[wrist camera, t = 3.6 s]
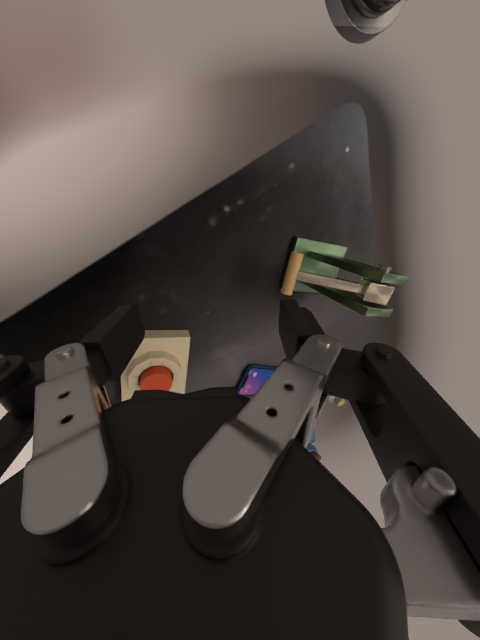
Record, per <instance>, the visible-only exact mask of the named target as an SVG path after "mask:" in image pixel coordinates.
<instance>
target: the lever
mask: <svg viewBox="0 0 480 640" xmlns="http://www.w3.org/2000/svg"><path fill="white" fill-rule="evenodd" d="M303 256H304V254H302V253H298V252H293V251H292V252H291V256H290V259H289V263H288V267H287V270H286V274H285V278H284V281H283V285H282V288H281V293H282V294H285V295H292V293H293V289H294V286H295V282H296V280H298V281H303V282H307V283H312V284H317V285H321V286H326V287H331V288H335V289H340V290H345V291H350V292H354V293H356V294H355V295H356V296H358V297H359V298H360V299H362V300H363V301H368V302H373V303H377V304H382V305H387V303H388V301H389V299H390V297H391V295H392V293H393V291H394V289H395V287H393V286H391V285H389V284H387V283H384V282H379V281H375V280H370V279H365V278H362V280H361V282H360V283H358V282H353V281H348V280H343V279H339V278H334V277H329V276H325V275H320V274H315V273H310V272H306V271H301V270H299V269H300V266H301V262H302V259H303Z"/></svg>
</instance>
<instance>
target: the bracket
mask: <svg viewBox="0 0 480 640" xmlns="http://www.w3.org/2000/svg"><path fill="white" fill-rule="evenodd" d="M346 250H347V247H344V246H339V245H334V244H329V243H324V242H319V241H314V240H309V239H304V238H299V237H293V240H292V244H291V247H290V251H289V255H288V258H287V262H286V266H285V270H284V273H283V277H282V281H281V284H280V288H282V285H283V281H284V278H285V274H286V270H287V267H288V263H289V259H290V256H291V252H292V251H293V252H298V253H302V254H304V256H303V259H302V262H301V266H300V269H299V270H301V271H306V272H310V273H315V274H320V275H325V276H329V277H334V278H336V277H337V274H338V271H339V269H343V270H346V271H349V272H352V273H355V274H358V275H361V276H364V277H367V278H370V279H373V280H376V281H379V282H384V283H392V284H401V285H406V284H407V282H408V280H409V278H410V277H409V276H406V275H403V274H399V273H395V272H392V271H391V270H392V268H391V267H387V266H383V265H378V267H374V266H371V265H367V264H363V263H360V262H356V261H353V260H349V259H346V258H344V255H345V253H346ZM293 291H300V292H314V293H321V294H323V295H325V296H327V297H329V298H331V299H333V300H335V301H337V302H339V303H341V304H343V305H345V306H347V307H348V308H350V309H352V310H354V311H356V312H358V313H359V314H361V315H364V316H390V315H391V313H392V311H393V309H391V308H389V307H387V306H385V305H382V304H377V303H373V302H368V301H363V300H362V299H360V298H359V297H358V296H356V295H355V294H356V293H354V292H350V291H345V290H340V289H335V288H331V287H326V286H321V285H317V284H312V283H307V282H303V281H298V280H296V282H295V286H294V289H293Z"/></svg>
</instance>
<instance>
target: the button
mask: <svg viewBox="0 0 480 640" xmlns="http://www.w3.org/2000/svg"><path fill="white" fill-rule="evenodd" d="M171 387H172V377H171V372H170V370H169V369H167V368H166V367H164V366H152V367H149V368H148V369H146V370H145V371H144V372H143V373H142V375H141V378H140V389H141V390H158V389H160V390H166V391H169V390H170V389H171Z"/></svg>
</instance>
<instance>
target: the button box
mask: <svg viewBox="0 0 480 640" xmlns="http://www.w3.org/2000/svg"><path fill="white" fill-rule="evenodd" d="M189 346H190V334H189V331H188V330H145V337H144V339H143V341H142V343H141V344H140V346H139V348H138V349H137V351H136V352H135V354H134V356H133V357H132V359H131V361H130V362H129V364H128V365H127V367H126V369H125V370H124V372H123V373H122V375H121V393H122V401H125V400H128V399H131V397H132V395H133V393H134V391H135V390H141V389H140V378H141V375H142V373H143V372H144V371H145V370H146V369H148V368H149V367H152V366H164V367H166V368H167V369H169V370H170V372H171V377H172V387H171V389H170V390H169V391H171V392H176V393H181V394H184V393H185V384H186V374H187V365H188V356H189Z"/></svg>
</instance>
